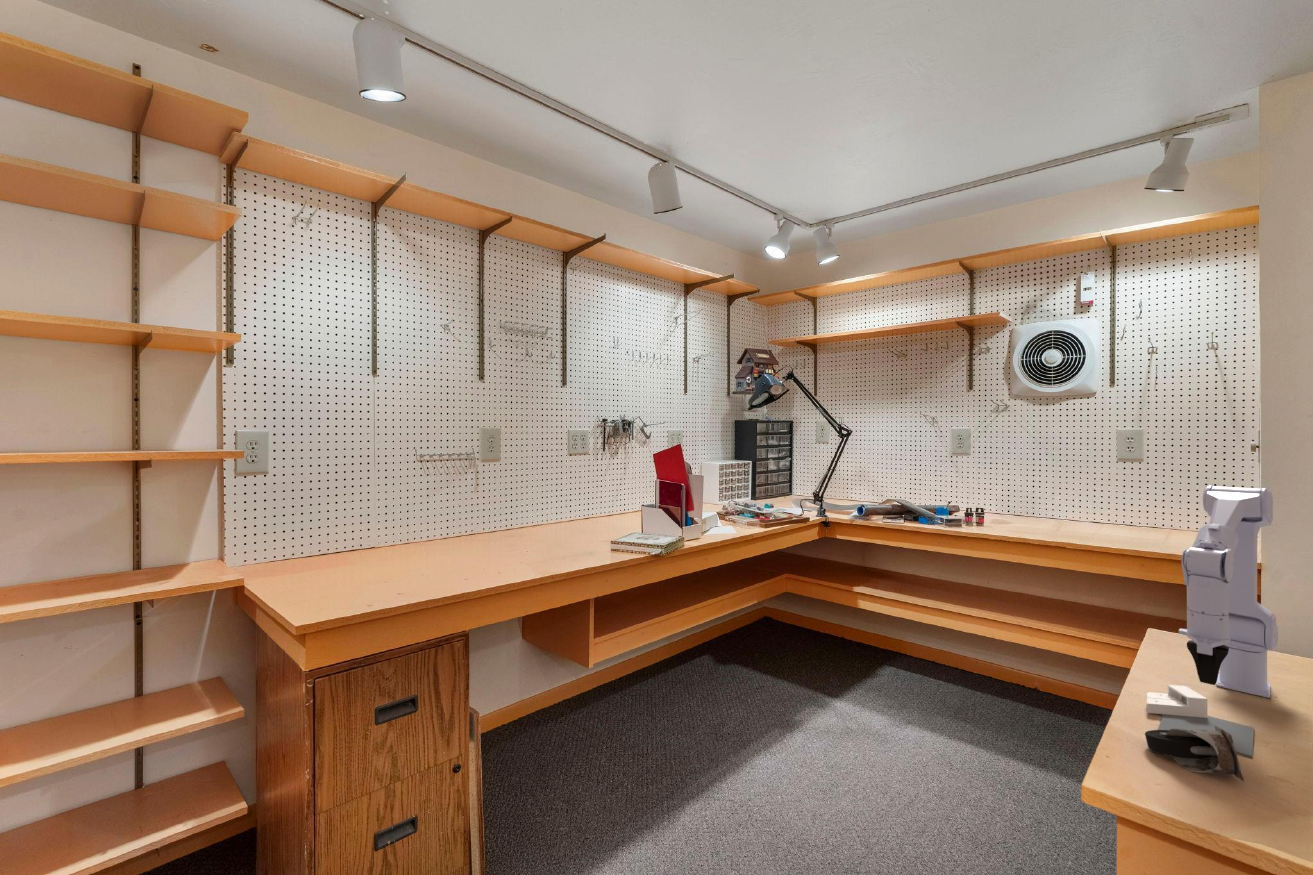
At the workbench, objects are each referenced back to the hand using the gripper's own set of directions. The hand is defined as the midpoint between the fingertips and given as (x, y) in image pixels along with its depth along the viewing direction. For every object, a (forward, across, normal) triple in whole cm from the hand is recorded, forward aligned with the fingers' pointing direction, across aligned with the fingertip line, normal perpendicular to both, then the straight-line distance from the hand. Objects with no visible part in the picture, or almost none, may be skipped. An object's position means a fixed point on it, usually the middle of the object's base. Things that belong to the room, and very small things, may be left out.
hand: (1207, 682), depth 108 cm
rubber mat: (+7, +5, 0) cm, 9 cm away
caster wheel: (+8, +21, -1) cm, 23 cm away
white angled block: (+5, -3, -2) cm, 6 cm away
